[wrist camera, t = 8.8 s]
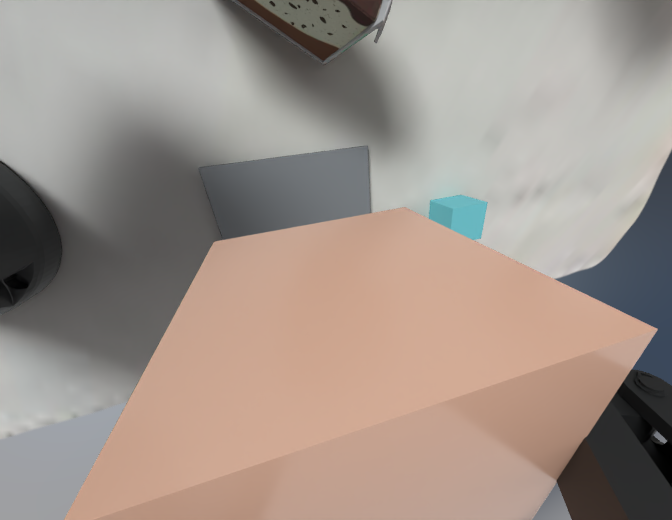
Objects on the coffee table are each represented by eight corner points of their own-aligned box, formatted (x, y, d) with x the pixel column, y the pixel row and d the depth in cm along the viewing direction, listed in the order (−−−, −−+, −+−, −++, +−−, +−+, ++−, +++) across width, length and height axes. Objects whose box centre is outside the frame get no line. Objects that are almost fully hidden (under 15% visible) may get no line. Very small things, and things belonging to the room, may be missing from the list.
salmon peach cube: (263, 379, 16) (259, 652, 8) (214, 241, 12) (57, 532, 3) (401, 340, 18) (526, 527, 9) (404, 207, 13) (657, 329, 5)
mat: (247, 306, 28) (247, 309, 27) (199, 167, 21) (198, 168, 20) (371, 278, 30) (373, 280, 30) (365, 145, 24) (367, 146, 23)
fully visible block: (427, 233, 30) (448, 245, 26) (429, 200, 28) (453, 208, 24) (456, 226, 30) (480, 238, 27) (460, 194, 29) (487, 202, 25)
